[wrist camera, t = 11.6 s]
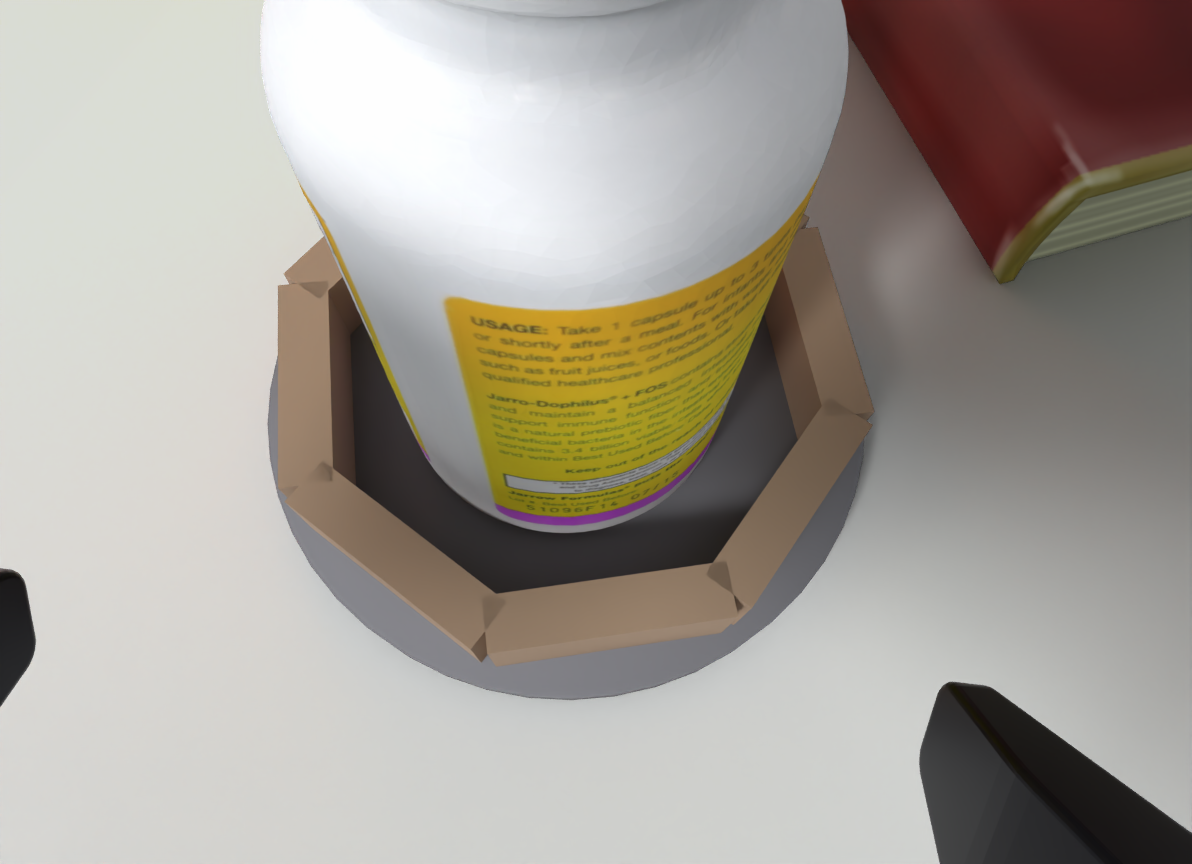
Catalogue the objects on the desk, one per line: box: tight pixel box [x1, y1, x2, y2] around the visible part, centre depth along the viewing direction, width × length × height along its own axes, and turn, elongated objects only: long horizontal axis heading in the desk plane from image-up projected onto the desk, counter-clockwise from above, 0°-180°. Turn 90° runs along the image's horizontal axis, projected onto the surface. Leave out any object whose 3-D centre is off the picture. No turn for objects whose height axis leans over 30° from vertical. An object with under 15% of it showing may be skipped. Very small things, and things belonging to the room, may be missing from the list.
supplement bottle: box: [260, 0, 848, 533], centre depth 12 cm, size 7×7×13 cm
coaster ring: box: [268, 214, 874, 700], centre depth 17 cm, size 13×13×3 cm
